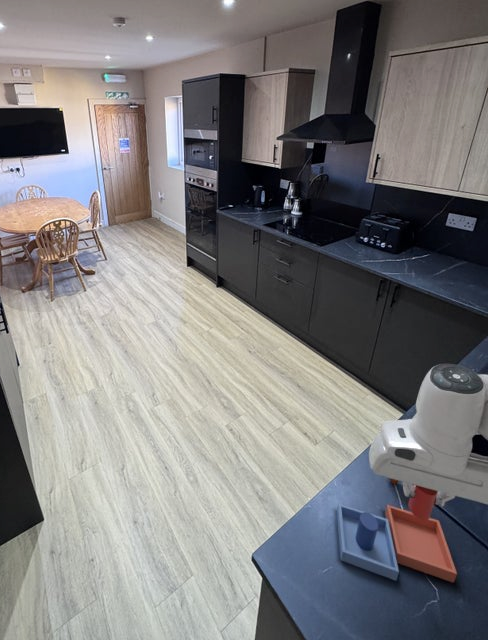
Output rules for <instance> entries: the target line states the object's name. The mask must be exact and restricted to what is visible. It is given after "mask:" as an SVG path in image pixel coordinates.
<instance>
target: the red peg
mask: <svg viewBox="0 0 488 640" xmlns="http://www.w3.org/2000/svg"><path fill="white" fill-rule="evenodd" d="M413 489H414V491H415V496H414V498H411V497H409V501H408V506H407V507H408V509H409V510H410V511H409V512H412V514H413V515H415V516H416V517H417V518H419V519H421V520H428V519H429V518H431V515H432V513H433V508H434V506H435V504H434V502H435V499H436V495H437V491H436V490H432V489H428V488H425V487H421V486H417V485H414V484H413Z"/></svg>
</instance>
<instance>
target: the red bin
mask: <svg viewBox="0 0 488 640" xmlns="http://www.w3.org/2000/svg"><path fill="white" fill-rule="evenodd" d="M384 515H385V518H386V519H388V522H389V527H390V532H391V536H392V541H393V546H394V551H395V555H396V560H397V564H400V565H402V566H405V567H407V568H411V569H413V570H416V571H420V572H422V573H424V574H427V575H430V576H434V577H437V578H438V579H441V580H444V581H448V582H450V583H455V581H456V578H457V575H458V572H457V569H456V566H455V563H454V561H453V558H452V554H451V552H450V549H449V545H448V543H447V540H446V537H445V534H444V532H443V528H442V525H441V523H440V520H438V519H435V518H432V517H430V518H429V519H428V520H421V519H419V518H417V517H416V516H415V515H413V514H412V512H411V511H409V510H406V509H403V508H399V507H397V506H393V505H390V504H386V508H385V512H384Z"/></svg>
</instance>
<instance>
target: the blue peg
mask: <svg viewBox="0 0 488 640" xmlns="http://www.w3.org/2000/svg"><path fill="white" fill-rule="evenodd" d="M371 514H372V513H370V512H367V511H364V512H363V513H361V515H360V519H359V523H358V528H357V532H356V537H355V538H356V542H357V544H358V545H359V546H360V547H361V548H362V549H363V550H365V551H371V550H372V549H373V546H374V542H375V538H376V534H377V530H378V522H377V520H376V518H375V517H374V516H373V515H374V514H373V515H371Z"/></svg>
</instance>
